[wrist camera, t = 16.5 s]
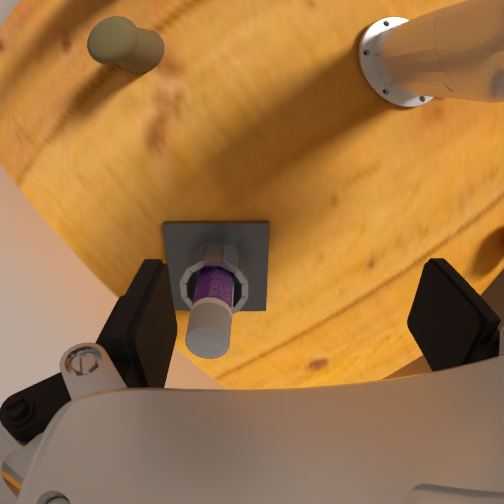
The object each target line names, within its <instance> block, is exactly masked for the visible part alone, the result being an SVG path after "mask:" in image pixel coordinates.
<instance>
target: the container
mask: <svg viewBox="0 0 504 504" xmlns="http://www.w3.org/2000/svg"><path fill="white" fill-rule="evenodd" d="M234 278H235V274H234V273H233V272H230V271H228V270H226V269H224V268H222V267H220V266H204V267H202V268H201V271H200V275H199V279H198V283H197V287H196V291H195V295H194V299H193V303H192V307H191V312H190V318H189V323H188V328H187V333H186V339H185V343H186V346H187V348H188V349H189V350H190V352H192V353H193V354H194V355H196V356H198V357H201V358H206V359H213V358H218V357H220V356H222V355H224V354H225V353H226V352H227V351H228V349H229V343H230V333H231V323H232V312H233V295H234Z"/></svg>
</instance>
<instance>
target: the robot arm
mask: <svg viewBox="0 0 504 504" xmlns="http://www.w3.org/2000/svg"><path fill="white" fill-rule="evenodd" d="M383 23H384V24H385V26H384V24H383ZM363 52H365V53H366V55H364V53H363ZM358 56H359V63H360V67H361V70H362V73H363V75H364V77H365V79H366V81H367V82H368V83H369V85H370V86H371V88H372V89H373V90H374V91H375V92H376V93H377V94H378V95H379V96H381V97H382V98H384V99H385V100H387V101H389V102H391V103H393V104H395V105H399V106H405V107H417V106H421V105H424V104H426V103H428V102H429V101H430V100H432V99H433V98H434V97H442V98H453V99H463V100H471V101H479V102H487V103H498V102H503V101H504V0H466V1H463V2H460V3H457V4H454V5H451V6H448V7H445V8H442V9H439V10H436V11H433V12H430V13H427V14H425V15H422V16H419V17H417V18H414V19H411V20H407V19H404V18H398V17H388V18H384V19H380V20H378V21H376V22H374V23H373V24H372V25H370V26H369V27H368V28H367V29H366V30H365V32H364V33H363V35H362V37H361V40H360V44H359V52H358ZM383 90H384V91H385V93H383ZM500 321H501V319H500V318H499V317H498V316H497V315H496V313H495V312H494V311H493V310H492V309H491V308H490V306H488V304H487V303H486V302H485V301H484V300H483V299H482V298H481V296H480V295H479V294H478V293H477V292H476V291H475V290H474V289H473V288H472V287H471V286H470V285H469V283H468V282H467V281H466V280H465V279H464V278H463V277H462V276H461V275H460V274H459V273H458V272H457V271H456V270H455V269H454V268H453V267H452V266H451V265H450V264H449V263H448V262H447V261H446V260H445V259H443V258H431V259H429V261H428V262H427V263H425V265H424V268H423V271H422V275H421V278H420V282H419V285H418V289H417V292H416V295H415V298H414V301H413V304H412V308H411V311H410V314H409V316H408V320H407V325H408V328H409V330H410V332H411V334H412V335H413V337H414V339H415V341H416V342H417V344H418V346H419V348H420V349H421V351H422V353H423V355H424V357H425V358H426V360H427V362H428V364H429V365H430V367H431V369H432V371H433V372H427V373H422V374H416V375H410V376H405V377H398V378H392V379H385V380H377V381H370V382H362V383H353V384H343V385H333V386H320V387H307V388H289V389H261V390H213V389H212V390H211V389H174V388H164V386H165V382H166V378H167V373H168V369H169V365H170V361H171V356H172V352H173V349H174V345H175V341H176V337H177V322H176V316H175V310H174V303H173V297H172V290H171V283H170V276H169V269H168V265H167V264H163V262H162V260H161V259H145V260H144V261H143V263H142V265H141V267H140V269H139V270H138V272H137V274H136V276H135V277H134V279H133V281H132V283H131V285H130V286H129V288H128V290H127V292H126V294H125V296H121V297H120V298H119V299H118V301H117V303H116V305H115V307H114V308H113V310H112V312H111V314H110V316H109V318H108V320H107V322H106V324H105V325H104V327H103V329H102V331H101V333H100V335H99V337H98V339H97V341H96V343H82V344H78V345H76V346H73V347H72V348H70V349H69V350H67V351H66V352H65V353H64V355H63V356H62V358H61V361H60V370H61V372H60V373H58V374H56V375H54V376H52V377H49V378H47V379H45V380H43V381H41V382H39V383H37V384H34V385H32V386H30V387H28V388H26V389H24V390H22V391H20V392H17V393H15V394H13V395H12V396H10V397H8V398H7V399H6V401H4V403H3V404H2V406H1V408H0V504H504V326H503V327H502V328H501V329H500V331H498V329H497V327H498V325H499V323H500Z"/></svg>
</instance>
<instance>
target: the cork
mask: <svg viewBox="0 0 504 504" xmlns="http://www.w3.org/2000/svg"><path fill="white" fill-rule="evenodd" d="M87 48H88V51H89V54H90V55H91V57H92V58H93V59H94V60H96V61H97V62H99V63H103V64H115V63H116V64H117V65H119V66H120V67H122V68H124V69H125V70H127V71H129V72H130V73H135V74H141V73H146V72H148V71H150V70H152V69H153V68H154V67H156V66H157V65H158V63H159V62H160V61H161V59H162V57H163V54H164V43H163V40H162V38H161V37H160V36H159V35H158V34H156V33H155V32H153V31H149V30H145V29H141V28H136V26H135V25H134V24H133V23H132V21H130V20H128V19H126V18H124V17H117V16H114V17H109V18H106V19H104V20H102V21H100V22H99V23H98V24H97V25H96V26H95V27H94V28H93V30H92V31H91V33H90V35H89V38H88V44H87Z"/></svg>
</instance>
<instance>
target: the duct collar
mask: <svg viewBox="0 0 504 504" xmlns="http://www.w3.org/2000/svg"><path fill="white" fill-rule="evenodd" d="M163 232H164V241H165V249H166V257H167V265H168V269H169V276H170V283H171V290H172V297H173V303H174V310H191V307H192V303H193V299H194V295H195V291H196V287H197V283H198V279H199V275H200V271H201V268H202V267H204V266H220V267H222V268H224V269H226V270H228V271H230V272H233V273H234V274H235V278H234V295H233V312H232V314H233V313H236V312H238V311H266V297H267V271H268V242H269V221H166V222H164V223H163Z"/></svg>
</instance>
